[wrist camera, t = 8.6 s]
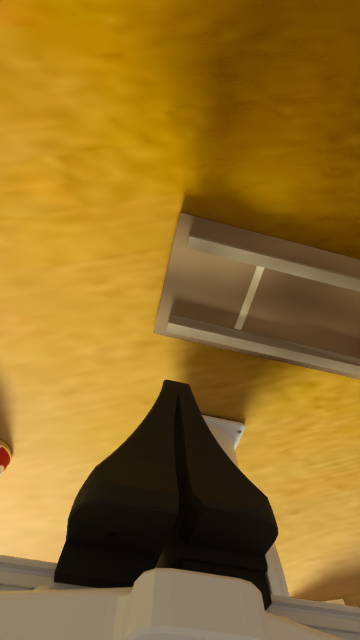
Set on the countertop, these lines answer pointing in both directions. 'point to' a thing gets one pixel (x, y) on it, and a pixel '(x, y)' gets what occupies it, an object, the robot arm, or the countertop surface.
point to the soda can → (4, 456)
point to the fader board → (262, 297)
